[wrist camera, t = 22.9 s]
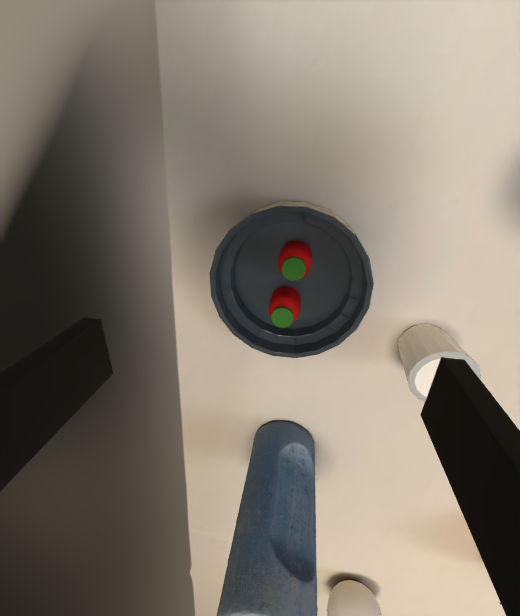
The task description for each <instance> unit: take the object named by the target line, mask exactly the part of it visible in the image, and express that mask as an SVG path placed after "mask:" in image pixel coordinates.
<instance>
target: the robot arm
mask: <svg viewBox="0 0 520 616" xmlns="http://www.w3.org/2000/svg"><path fill="white" fill-rule="evenodd" d="M112 374H113V371H112V366H111V362H110V358H109V354H108V349H107V345H106V341H105V336H104V332H103V327H102V323H101V320H100V319H92V318H82V319H81V320H80V321H78V322H76V323H75V324H73V325H72V326H70V327H69V328H68V329H66V330H65V331H63V332H62V333H60V334H59V335H57V336H56V337H54V338H53V339H51V340H50V341H48V342H47V343H45V344H44V345H42V346H41V347H39V348H38V349H36V350H35V351H33V352H32V353H30V354H29V355H27V356H26V357H24V358H23V359H21V360H20V361H18V362H17V363H15V364H14V365H12V366H11V367H9V368H8V369H6V370H5V371H4V372H2V373H0V491H1V490H2V489H3V488H4V487H5V486H6V485H7V484H8V483H9V482H10V481H11V480H12V478H13V477H14V476H15V475H16V474H17V473H18V472H19V471H20V470H21V469H22V468H23V467H24V466H25V465H26V464H27V463H28V462H29V461H30V460H31V459H32V458H33V457H34V455H35V454H36V453H37V452H38V451H39V450H40V449H41V448H42V447H43V446H44V445H45V444H46V443H47V442H48V441H49V440H50V439H51V438H52V437H53V436H54V435H55V434H56V433H57V431H58V430H59V429H60V428H61V427H62V426H63V425H64V424H65V423H66V422H67V421H68V420H69V419H70V418H71V417H72V416H73V415H74V414H75V413H76V411H77V410H78V409H80V407H81V406H82V405H83V404H84V403H85V402H86V401H87V400H88V399H89V398H90V397H91V396H92V395H93V394H94V393H95V392H96V391H97V390H98V389H99V388H100V386H102V384H103V383H104V382H105V381H106V380H107V379H108V378H109V377H110V376H111V375H112ZM421 417H422V419H423V422H424V424H425V426H426V429H427V431H428V433H429V436H430V438H431V440H432V443H433V445H434V447H435V450H436V452H437V454H438V457H439V459H440V461H441V464H442V466H443V468H444V471H445V473H446V475H447V478H448V480H449V483H450V485H451V487H452V490H453V492H454V494H455V497H456V499H457V501H458V504H459V506H460V508H461V511H462V513H463V515H464V518H465V520H466V522H467V525H468V527H469V529H470V532H471V534H472V536H473V539H474V541H475V543H476V546H477V548H478V550H479V553H480V555H481V557H482V560H483V562H484V564H485V567H486V569H487V571H488V574H489V576H490V578H491V581H492V583H493V586H494V588H495V590H496V593H497V595H498V597H499V600H500V602H501V604H502V607H503V609H504V611H505V614H506V616H520V431H519V429H518V428H517V427H516V425H515V424H514V423H513V422H512V420H511V419H510V418H509V416H508V415H507V414H506V413H505V411H504V410H503V409H502V407H501V406H500V405H499V403H498V402H497V401H496V400H495V398H494V397H493V396H492V394H491V393H490V392H489V391H488V389H487V388H486V387H485V385H484V384H483V383H482V382H481V380H480V379H479V378H478V376H477V375H476V374H475V372H474V371H473V370H472V369H471V367H470V366H469V365H468V363H467V362H466V361H465V360H464V359H455V358H446V357H441V359H440V362H439V365H438V367H437V370H436V373H435V376H434V379H433V381H432V384H431V387H430V390H429V393H428V395H427V398H426V401H425V404H424V407H423V410H422V412H421Z"/></svg>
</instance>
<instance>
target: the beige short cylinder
mask: <svg viewBox="0 0 520 616" xmlns="http://www.w3.org/2000/svg"><path fill="white" fill-rule="evenodd" d="M398 349H399V352H400V356H401V359H402V363H403V366H404V370H405V374H406V377H407V381H408V384H409V387H410V391H411V392H412V393H413V394H414V395H415V396H416V397H417V398H418V399H420V400H422V401H426V398H427V395H428V393H429V390H430V387H431V384H432V381H433V379H434V376H435V373H436V370H437V367H438V365H439V362H440V359H441V357H446V358H455V359H464V360H465V361H466V362H467V363H468V365H469V366H470V367H471V369H472V370H473V371H474V372H475V374H476V375H477V376H478V378H479V379H481V372H480V367H479V365H478V364H477V363H476V362H475V361H474V360H473V359H472V358H471V357H470V356H469V355H468V354H467V353H466V352H465V351H464V350H463V349H462V348H461V347H460V346H459V345H458V344H457V343H456V342H455V341H453V340H452V339H451V338H450V337H449V336H448V335H447V334H446V333H445V332H444V331H443V330H442V329H441V328H439V327H437V326H434V325H432V324H420V325H416V326H412V327H411V328H409V329H408V330H406V331H405V332H404V333H403V334H402V336H401V337H400V338H399V342H398Z"/></svg>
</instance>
